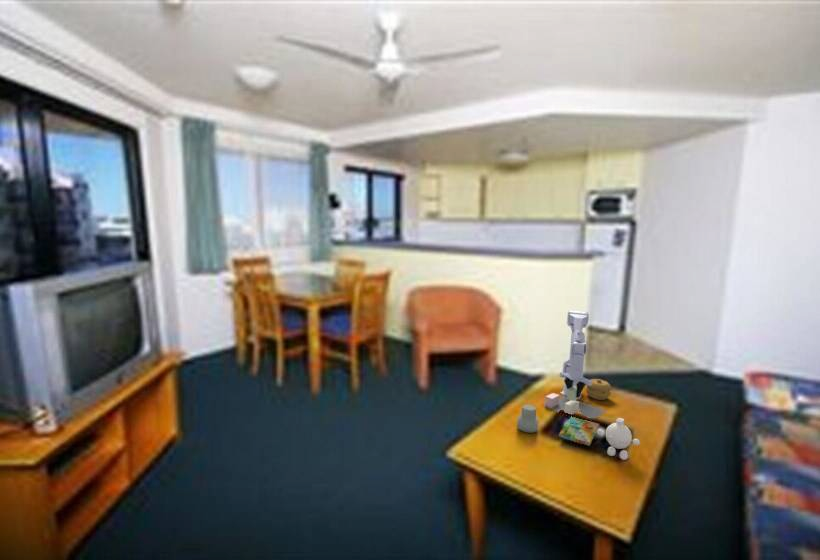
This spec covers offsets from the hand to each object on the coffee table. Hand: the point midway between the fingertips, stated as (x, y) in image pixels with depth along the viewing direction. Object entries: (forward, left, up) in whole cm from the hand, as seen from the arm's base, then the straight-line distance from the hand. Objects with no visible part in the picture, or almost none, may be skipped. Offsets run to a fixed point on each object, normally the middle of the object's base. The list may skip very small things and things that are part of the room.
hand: (573, 395), depth 200 cm
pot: (-27, 0, -9) cm, 29 cm away
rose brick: (+1, -10, -8) cm, 13 cm away
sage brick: (0, 0, -1) cm, 1 cm away
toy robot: (+22, +29, -9) cm, 37 cm away
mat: (-4, -1, -8) cm, 10 cm away
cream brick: (+1, 0, -8) cm, 8 cm away
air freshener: (+32, -4, -9) cm, 33 cm away
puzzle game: (+20, +13, -9) cm, 25 cm away
